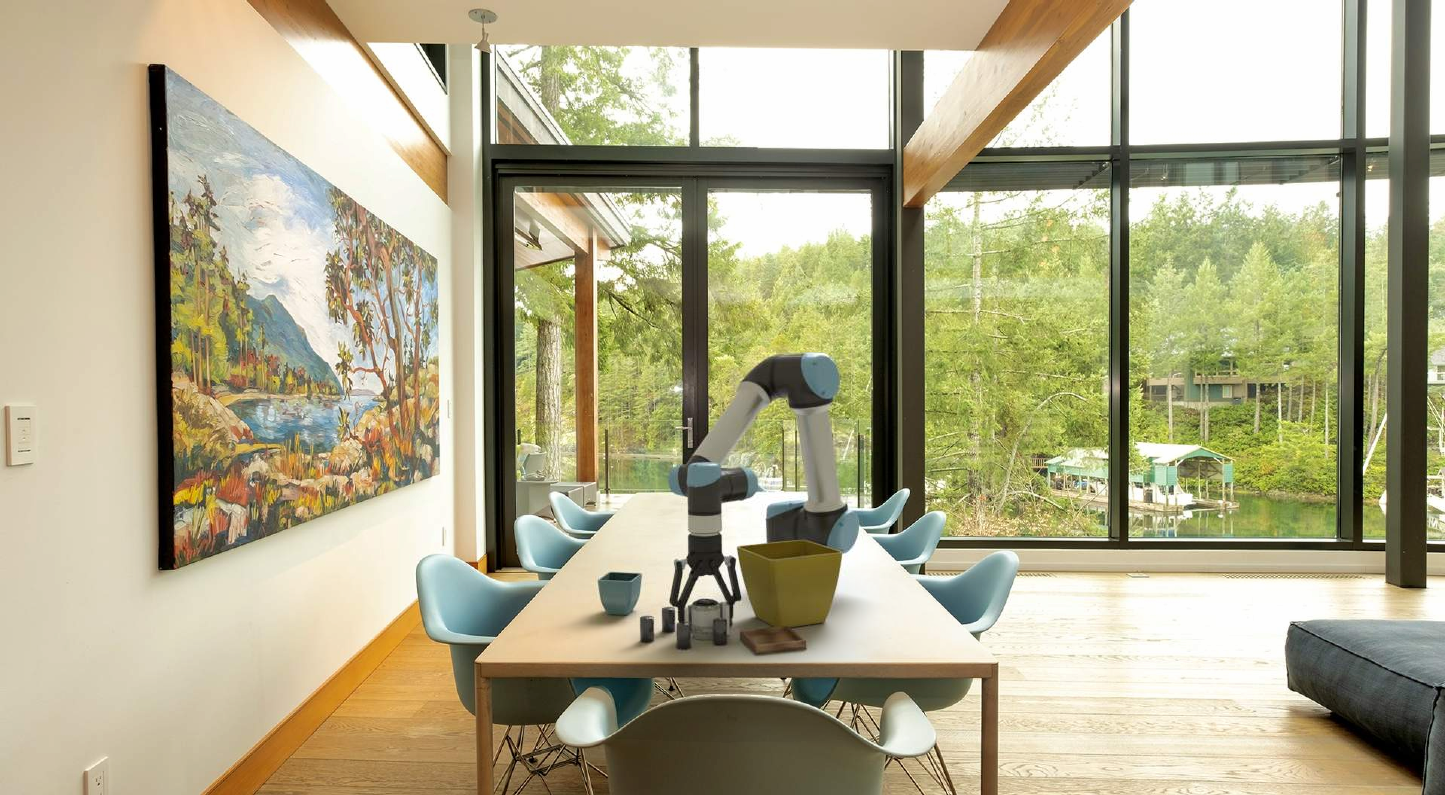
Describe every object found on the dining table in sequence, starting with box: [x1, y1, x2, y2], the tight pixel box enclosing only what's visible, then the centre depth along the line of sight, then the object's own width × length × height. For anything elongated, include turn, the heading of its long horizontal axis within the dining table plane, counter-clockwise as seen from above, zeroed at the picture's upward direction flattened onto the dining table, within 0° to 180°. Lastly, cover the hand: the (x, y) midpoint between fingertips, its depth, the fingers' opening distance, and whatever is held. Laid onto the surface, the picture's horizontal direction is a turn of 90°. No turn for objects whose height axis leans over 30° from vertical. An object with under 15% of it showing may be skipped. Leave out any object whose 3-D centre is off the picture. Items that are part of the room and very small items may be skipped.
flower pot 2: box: [736, 540, 843, 628], centre depth 186 cm, size 19×19×17 cm
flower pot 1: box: [597, 571, 643, 616], centre depth 194 cm, size 9×9×9 cm
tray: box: [739, 626, 807, 656], centre depth 168 cm, size 11×11×2 cm
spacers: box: [639, 601, 733, 651], centre depth 174 cm, size 22×16×5 cm
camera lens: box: [690, 598, 720, 641], centre depth 174 cm, size 6×6×8 cm
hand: (706, 635), depth 174 cm, fingers open, 9 cm apart
